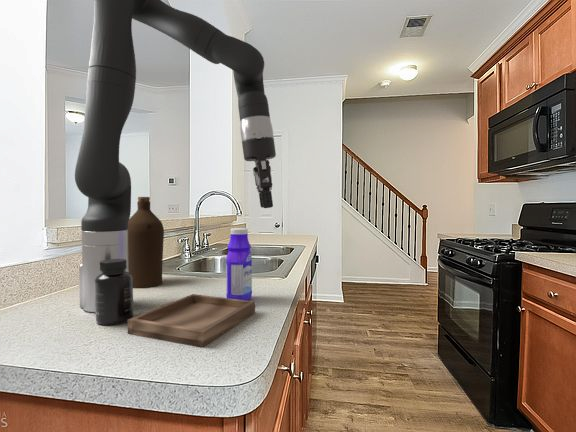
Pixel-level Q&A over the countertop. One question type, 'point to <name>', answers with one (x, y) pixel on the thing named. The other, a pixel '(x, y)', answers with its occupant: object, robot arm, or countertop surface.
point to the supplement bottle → (113, 293)
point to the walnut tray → (192, 319)
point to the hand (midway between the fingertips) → (266, 207)
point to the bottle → (239, 266)
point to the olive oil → (145, 246)
